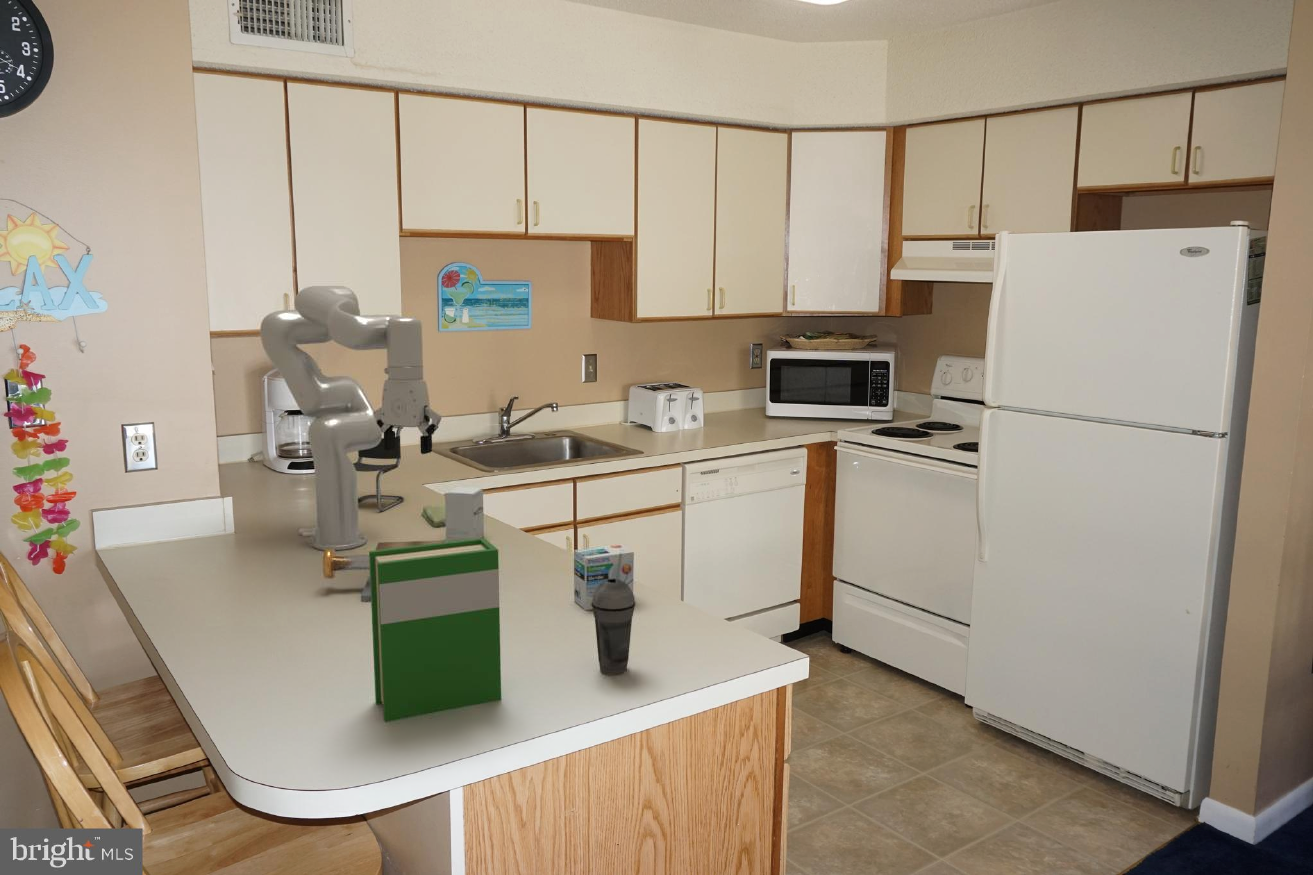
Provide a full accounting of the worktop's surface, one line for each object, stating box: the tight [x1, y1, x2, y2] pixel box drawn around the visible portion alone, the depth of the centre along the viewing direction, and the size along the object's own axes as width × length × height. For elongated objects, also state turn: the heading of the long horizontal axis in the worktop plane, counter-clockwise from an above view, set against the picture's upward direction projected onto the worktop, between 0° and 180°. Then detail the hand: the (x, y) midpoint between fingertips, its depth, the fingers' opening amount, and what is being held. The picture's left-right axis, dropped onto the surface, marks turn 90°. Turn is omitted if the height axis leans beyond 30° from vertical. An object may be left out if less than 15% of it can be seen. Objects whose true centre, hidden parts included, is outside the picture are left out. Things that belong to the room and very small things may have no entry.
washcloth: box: [421, 504, 446, 528], centre depth 261 cm, size 13×18×3 cm
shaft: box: [322, 549, 370, 580], centre depth 202 cm, size 20×6×6 cm, turn 99°
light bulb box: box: [573, 543, 635, 611], centre depth 194 cm, size 11×7×11 cm, turn 117°
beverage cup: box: [591, 553, 636, 676], centre depth 160 cm, size 7×7×20 cm
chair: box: [352, 426, 404, 512], centre depth 273 cm, size 13×17×22 cm
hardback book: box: [368, 537, 502, 723], centre depth 148 cm, size 18×7×24 cm, turn 116°
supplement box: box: [444, 486, 485, 542], centre depth 239 cm, size 7×7×13 cm
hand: (408, 451), depth 215 cm, fingers open, 9 cm apart
